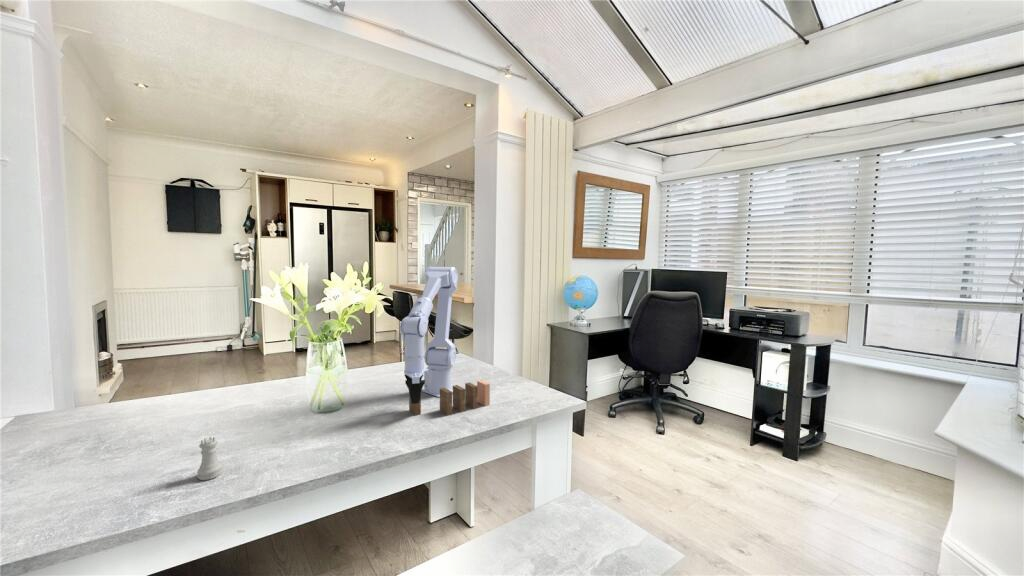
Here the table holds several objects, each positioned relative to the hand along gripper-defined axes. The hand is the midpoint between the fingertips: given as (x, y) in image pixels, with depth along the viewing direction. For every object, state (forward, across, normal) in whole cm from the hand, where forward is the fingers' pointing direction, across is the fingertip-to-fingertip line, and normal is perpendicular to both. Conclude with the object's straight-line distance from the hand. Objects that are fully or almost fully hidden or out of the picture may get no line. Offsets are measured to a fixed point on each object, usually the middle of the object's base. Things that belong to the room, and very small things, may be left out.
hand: (414, 399), depth 124 cm
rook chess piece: (+4, -25, +44) cm, 51 cm away
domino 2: (+4, -2, -9) cm, 10 cm away
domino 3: (+4, -1, -13) cm, 14 cm away
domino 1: (+4, 0, 0) cm, 4 cm away
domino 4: (+4, +1, -18) cm, 18 cm away
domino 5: (+4, +2, -22) cm, 22 cm away
